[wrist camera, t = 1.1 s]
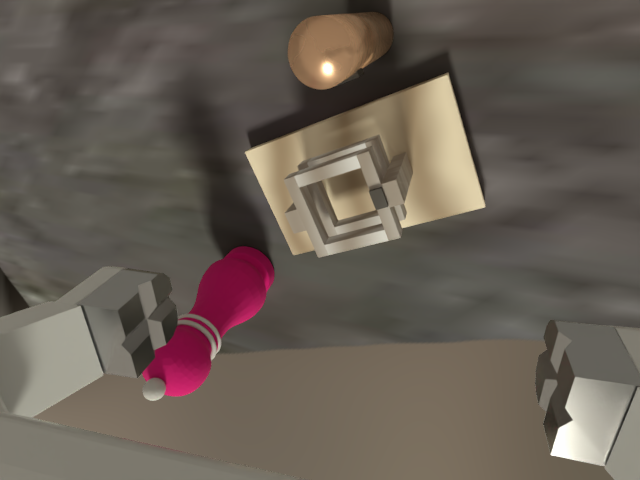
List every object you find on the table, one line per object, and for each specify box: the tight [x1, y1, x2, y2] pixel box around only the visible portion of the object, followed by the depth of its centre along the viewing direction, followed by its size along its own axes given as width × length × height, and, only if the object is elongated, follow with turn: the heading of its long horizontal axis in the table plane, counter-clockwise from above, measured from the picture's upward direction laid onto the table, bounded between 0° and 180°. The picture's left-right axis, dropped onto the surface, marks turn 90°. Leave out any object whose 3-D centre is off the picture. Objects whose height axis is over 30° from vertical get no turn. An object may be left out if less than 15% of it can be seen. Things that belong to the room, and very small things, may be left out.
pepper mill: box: [142, 246, 274, 401], centre depth 43 cm, size 7×7×20 cm
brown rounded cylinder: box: [288, 12, 393, 89], centre depth 30 cm, size 4×4×16 cm
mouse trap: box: [245, 72, 485, 258], centre depth 39 cm, size 20×12×9 cm, turn 114°
